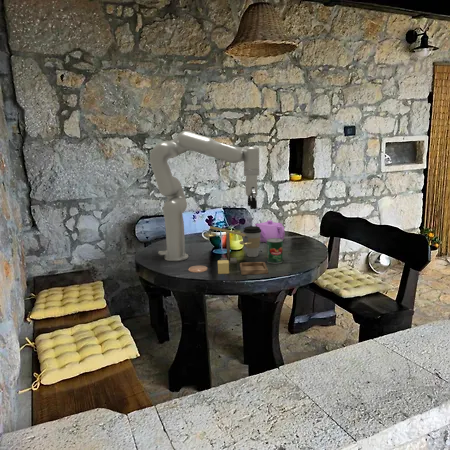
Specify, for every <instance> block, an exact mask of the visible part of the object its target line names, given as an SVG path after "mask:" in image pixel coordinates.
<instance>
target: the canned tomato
mask: <svg viewBox="0 0 450 450" xmlns="http://www.w3.org/2000/svg"><path fill="white" fill-rule="evenodd" d="M283 247H284V240H283V239H280V238H270V239H267V243H266V262H267V263H268V264H271V265H272V264H281V263H283V262H284V261H283V260H284V248H283Z"/></svg>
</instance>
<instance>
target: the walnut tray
mask: <svg viewBox="0 0 450 450" xmlns="http://www.w3.org/2000/svg"><path fill="white" fill-rule="evenodd" d="M239 269H240V274H241V276H244V275H246V276H247V275H268V274H269V268H268V267H267V264H266V262H265V261H256V262H255V261H252V262H251V261H249V262H239Z"/></svg>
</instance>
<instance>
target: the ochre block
mask: <svg viewBox="0 0 450 450" xmlns="http://www.w3.org/2000/svg"><path fill="white" fill-rule="evenodd" d="M217 274H218V275H226V274H227V275H228V274H230V264H229V261H228V260H221V259H219V260H217Z"/></svg>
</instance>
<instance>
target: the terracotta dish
mask: <svg viewBox="0 0 450 450" xmlns="http://www.w3.org/2000/svg"><path fill="white" fill-rule="evenodd" d="M206 271H208V267H207V266H206V265H193V266H190V267H188V272H190V273H204V272H206Z"/></svg>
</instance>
